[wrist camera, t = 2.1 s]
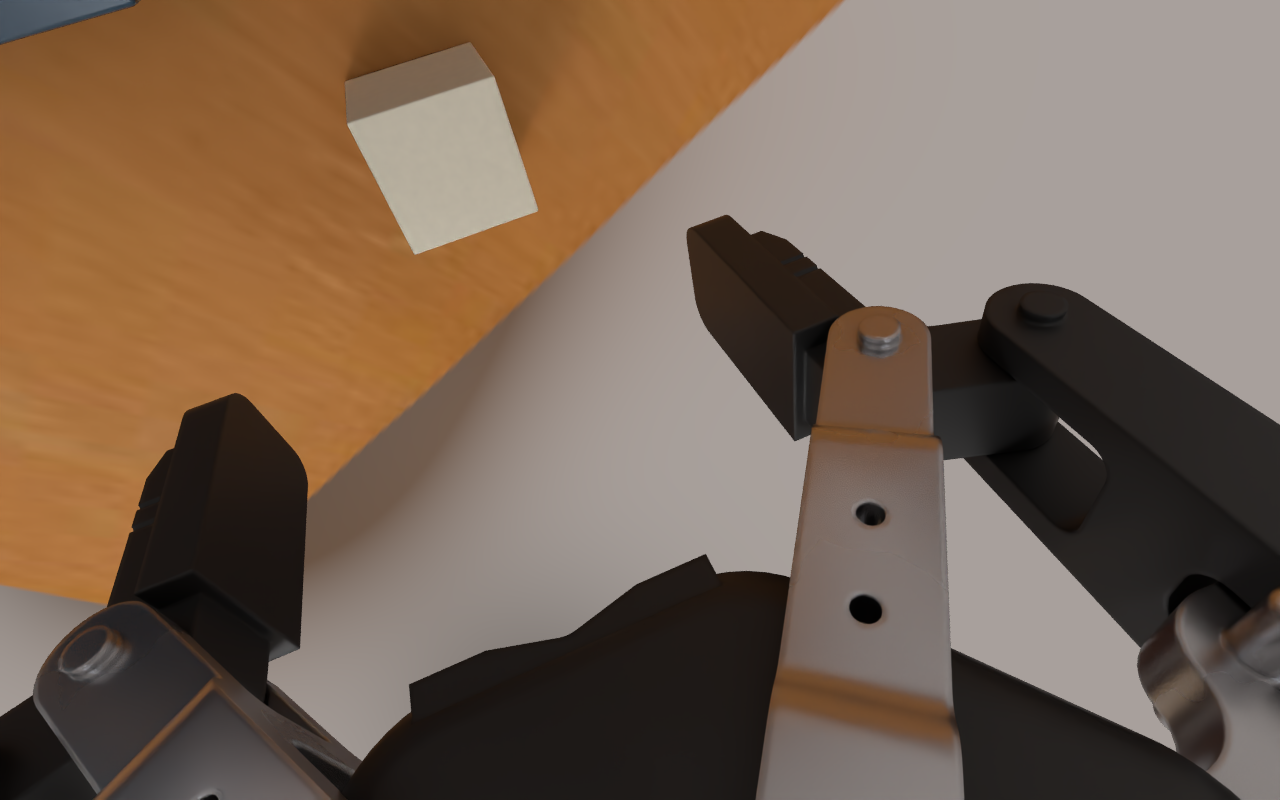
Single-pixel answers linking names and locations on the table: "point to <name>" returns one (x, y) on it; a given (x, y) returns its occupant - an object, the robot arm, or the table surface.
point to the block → (440, 146)
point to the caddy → (50, 15)
